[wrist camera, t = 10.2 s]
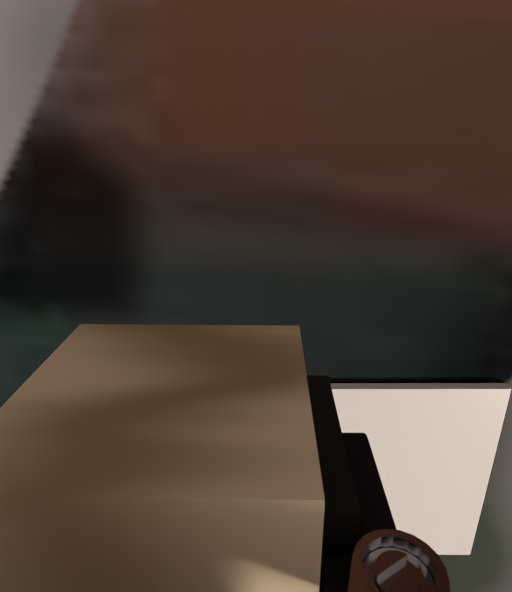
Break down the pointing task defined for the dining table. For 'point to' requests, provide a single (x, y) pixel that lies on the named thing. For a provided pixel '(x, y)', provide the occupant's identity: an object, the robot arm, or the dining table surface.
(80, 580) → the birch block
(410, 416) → the blush pad
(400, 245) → the dining table surface
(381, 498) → the robot arm
